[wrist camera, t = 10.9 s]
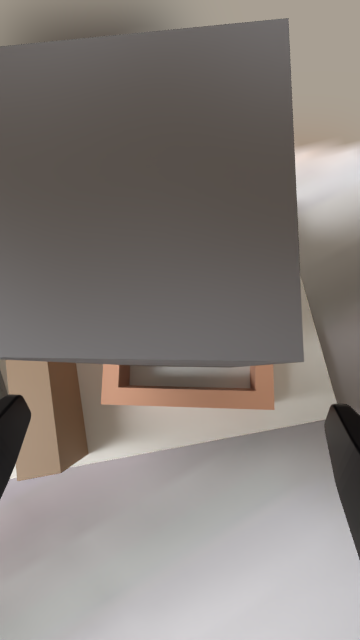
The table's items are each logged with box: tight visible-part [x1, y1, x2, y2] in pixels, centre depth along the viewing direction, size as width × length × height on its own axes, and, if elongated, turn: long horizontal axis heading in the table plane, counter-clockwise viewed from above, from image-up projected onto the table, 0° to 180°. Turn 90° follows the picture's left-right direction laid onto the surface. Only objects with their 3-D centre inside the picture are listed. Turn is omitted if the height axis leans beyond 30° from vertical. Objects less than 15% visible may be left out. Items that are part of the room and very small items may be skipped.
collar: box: [101, 364, 275, 410], centre depth 16 cm, size 8×8×2 cm
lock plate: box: [0, 275, 337, 481], centre depth 16 cm, size 28×12×4 cm, turn 102°
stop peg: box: [0, 18, 304, 368], centre depth 10 cm, size 4×4×13 cm
